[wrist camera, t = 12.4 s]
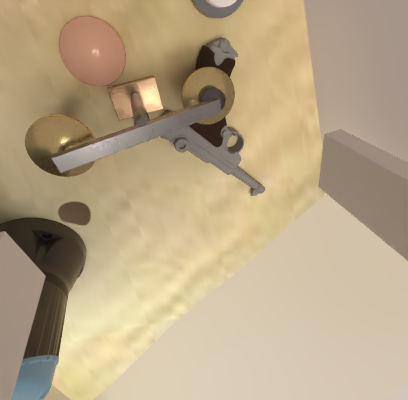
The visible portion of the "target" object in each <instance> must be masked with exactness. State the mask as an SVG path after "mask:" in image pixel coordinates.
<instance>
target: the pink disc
mask: <svg viewBox="0 0 408 400" xmlns="http://www.w3.org/2000/svg"><path fill="white" fill-rule="evenodd" d="M59 47H60V53H61V57H62V59H63V62H64V63H65V65H66V67H67V68H68V70H69V71H70V72H71V73H72V74H73V75H74V76H75V77H76V78H77V79H79V80H80V81H82V82H84V83H86V84H89V85H93V86H105V85H108V84H111V83H113V82H114V81H116V80H117V79H118V78H119V77H120V75H121V74H122V72H123V69H124V66H125V50H124V46H123V43H122V41H121V39H120V37H119V35H118V34H117V32H116V31H115V30H114V29H113V28H112V27H111V26H110V25H109V24H107V23H106V22H104V21H103V20H100V19H98V18H95V17H90V16H82V17H78V18H75V19H73V20H71V21H70V22H68V23H67V24H66V26H65V27H64V28H63V30H62V32H61V36H60V41H59Z"/></svg>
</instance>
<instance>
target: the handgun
mask: <svg viewBox="0 0 408 400" xmlns="http://www.w3.org/2000/svg"><path fill="white" fill-rule="evenodd" d="M235 56H236V57H238V54H237V52H236V51H235V50H234V49H233V48H232V47H231V46H230V43H229V41H228V40H227V39H225V38H218V39H216V40H213V41H211V43H210V44H209V43H207V44H206V46H203V47H202V49H201V51H200V54H199V56H198V59H197V63H196V69H195V71H196V70H198V69H200V68H204V67H214V68H217V69H220V70H222V71H223V72H225V73H226V74H227V75H228V76H229V78H230V75H231V72H232V70H233V68H234V66H235V60H234V58H235ZM169 113H171V112H170V111H165V113H164V114H163V116H164V115H167V114H169ZM226 125H227V124H226V119H225V117H224V118H223V119H222V120H220V121H218V122H216V123H214V124H207V125H206V124H200V123H197V122H196V123H194V124H191V125H188V126H186V127H183V128H180V129H178V130H175V131H172V132H170V133H167V134H164V135H161V136H160V137H161V138H163V137H164V138H165V139H168V140H170V141H171V142H173V144H174V146H175V148H176V150H177V151H179V152H185V151H186V150H188V151H190V152H191V153H192V154H194V155H195V156H197V157H198V158H200V159H201V160H203V161H204V162H206V163H209V162H210V163H212V164H213V165H215V166H216V167H217V168H219V169H220V170H222V171H223V172H225V173H226V174H227V175H230V174H232V175H233V176H235V177H236V178H238V179H239V180H241V181H243V182H244V183H246V184H247V185H249V186H250V187H252V188H253V190H252V193H251V196H255V195H257V194H259V193H263V192H264V191H265V187H264V186H262V185H261V184H260V183H258V182H256V181H255V180H254V179H253V178H251V177H250V176H249V175H248V174H246V173H245V172H244V171H243V170H241V169H240V168H239V167H238V166H237V165H238V164H239V163H240V161H241V156H240V155H239V152H240V151H241V150H242V148H243V145H244V139H243V137H242V135H241V134H239V133H238V132H237V131H236V130H234V129H233V128H229V127H227V126H226ZM234 133H236V134H237V135H238V141H237V143H236V144H235V145H234V146H233V147H230V148H228V147H227V142H228V139H229V138H230V137H231V136H232V135H234V136H237V135H236V134H234Z"/></svg>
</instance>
